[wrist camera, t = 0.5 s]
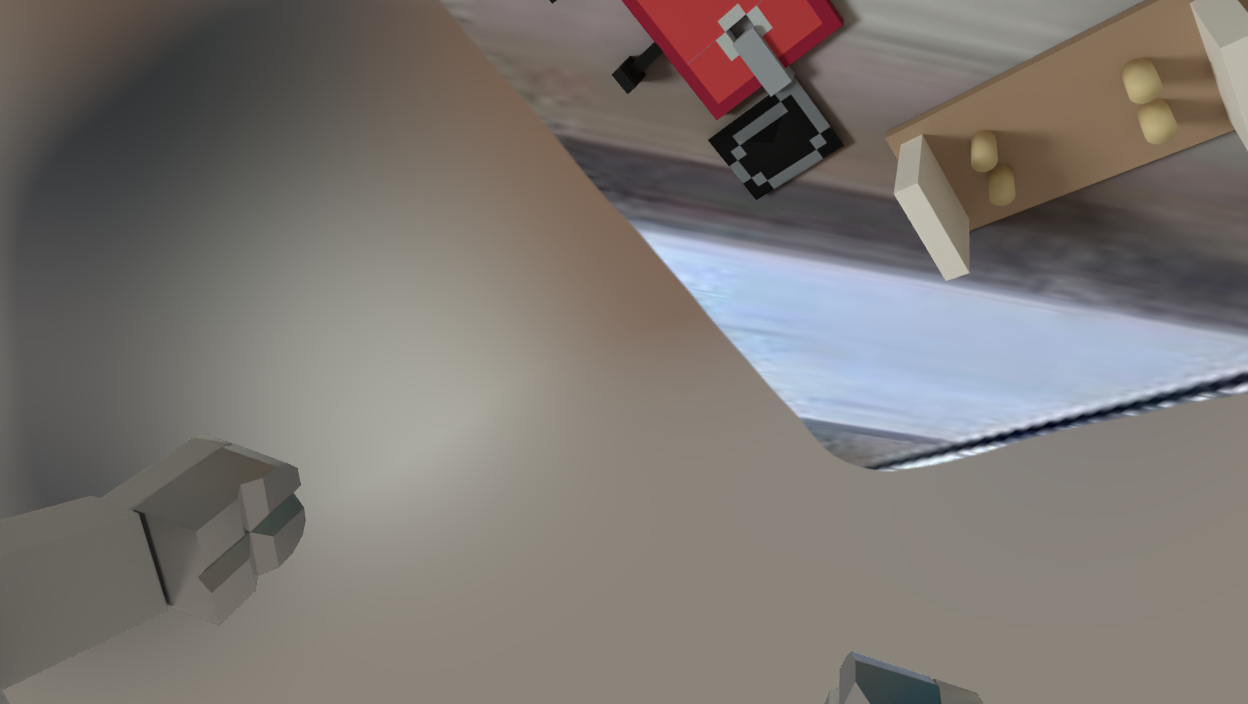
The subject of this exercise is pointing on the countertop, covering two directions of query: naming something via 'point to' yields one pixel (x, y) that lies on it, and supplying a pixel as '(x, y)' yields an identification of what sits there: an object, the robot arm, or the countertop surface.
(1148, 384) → the countertop surface
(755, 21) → the red board with handle
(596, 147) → the countertop surface
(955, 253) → the cradle
